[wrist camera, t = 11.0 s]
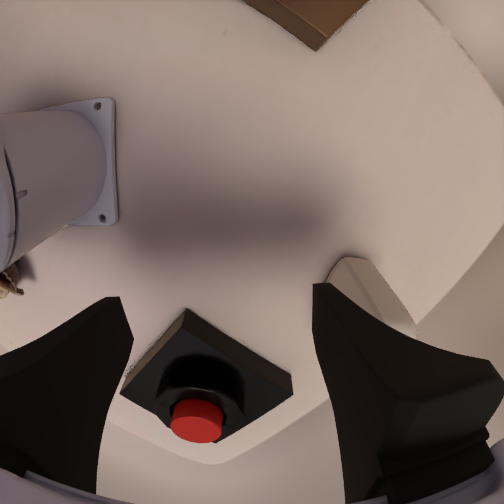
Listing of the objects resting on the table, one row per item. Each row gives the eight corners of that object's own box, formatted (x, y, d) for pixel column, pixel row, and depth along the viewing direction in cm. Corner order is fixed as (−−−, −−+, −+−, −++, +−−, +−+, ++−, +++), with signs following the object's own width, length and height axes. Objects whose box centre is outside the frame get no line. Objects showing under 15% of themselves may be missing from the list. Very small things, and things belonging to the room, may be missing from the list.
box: (217, 426, 26) (213, 459, 23) (126, 376, 24) (112, 409, 20) (291, 374, 23) (296, 412, 20) (187, 308, 21) (175, 345, 17)
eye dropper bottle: (293, 304, 21) (324, 464, 10) (352, 243, 19) (447, 381, 8) (336, 334, 22) (382, 477, 11) (391, 280, 20) (480, 410, 9)
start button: (204, 430, 21) (202, 448, 20) (165, 411, 20) (161, 428, 19) (232, 412, 20) (231, 431, 18) (191, 390, 19) (187, 410, 18)
